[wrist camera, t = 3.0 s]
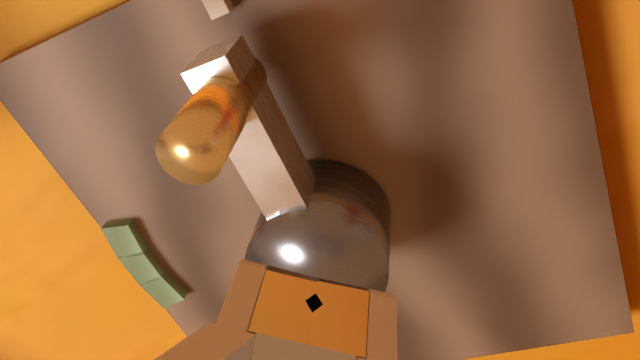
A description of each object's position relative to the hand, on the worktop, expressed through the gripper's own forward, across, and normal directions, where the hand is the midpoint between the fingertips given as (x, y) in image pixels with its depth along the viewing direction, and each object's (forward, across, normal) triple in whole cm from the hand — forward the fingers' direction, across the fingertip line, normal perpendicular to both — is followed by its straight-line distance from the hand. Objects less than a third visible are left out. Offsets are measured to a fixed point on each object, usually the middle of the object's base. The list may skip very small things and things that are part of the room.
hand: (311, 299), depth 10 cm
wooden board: (+14, 0, +8) cm, 16 cm away
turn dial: (+13, +1, +5) cm, 14 cm away
